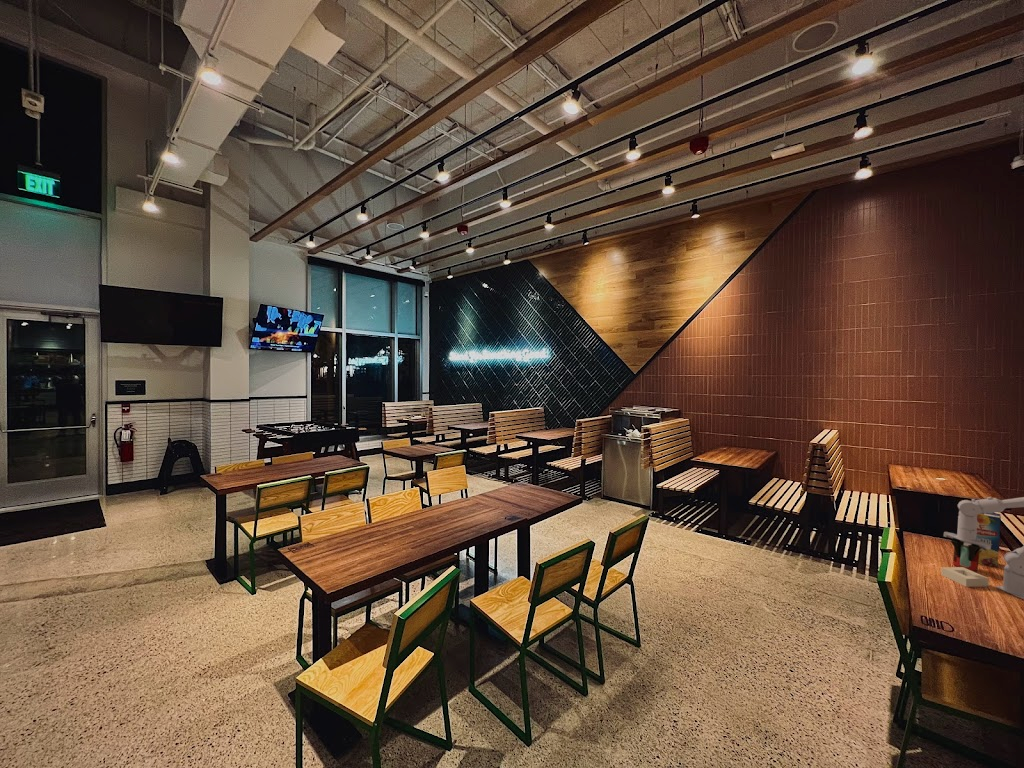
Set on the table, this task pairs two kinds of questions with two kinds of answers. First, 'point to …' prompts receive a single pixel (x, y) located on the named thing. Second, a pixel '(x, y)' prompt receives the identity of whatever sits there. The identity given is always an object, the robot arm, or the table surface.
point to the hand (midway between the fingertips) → (965, 558)
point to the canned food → (973, 563)
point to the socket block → (964, 576)
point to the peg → (964, 556)
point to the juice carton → (989, 538)
